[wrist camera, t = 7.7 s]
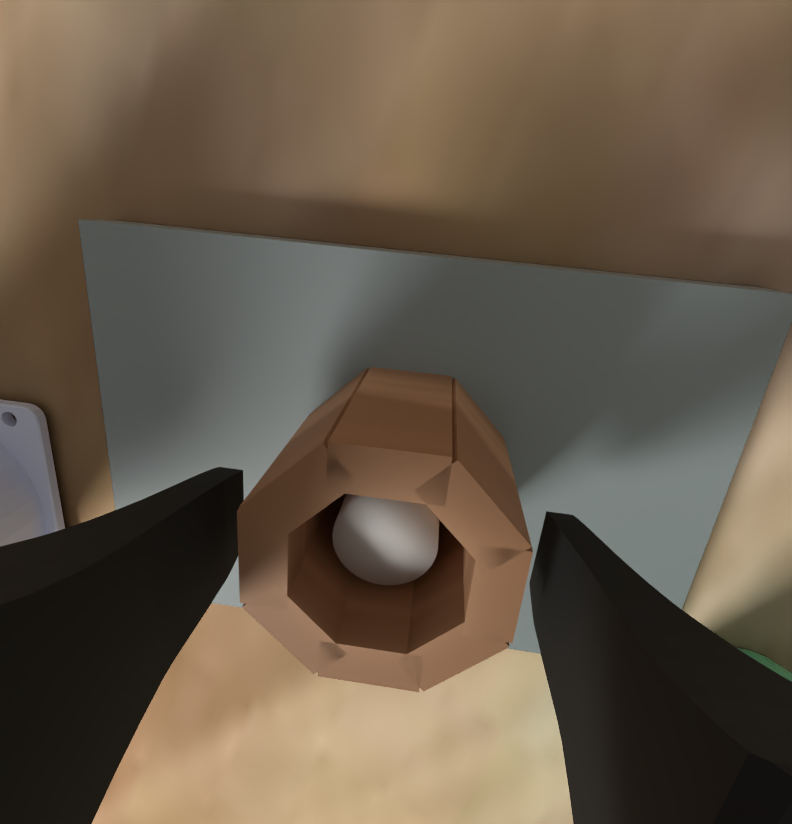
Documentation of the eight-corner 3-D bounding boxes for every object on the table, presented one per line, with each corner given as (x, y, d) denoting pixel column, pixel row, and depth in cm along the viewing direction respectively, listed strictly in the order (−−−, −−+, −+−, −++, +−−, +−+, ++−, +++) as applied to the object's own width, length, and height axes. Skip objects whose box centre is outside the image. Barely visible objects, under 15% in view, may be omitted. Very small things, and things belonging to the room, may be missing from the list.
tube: (305, 532, 15) (241, 663, 11) (309, 359, 13) (233, 430, 9) (483, 557, 15) (498, 704, 10) (515, 383, 13) (551, 469, 8)
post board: (150, 562, 18) (49, 675, 14) (114, 220, 14) (-50, 216, 9) (641, 635, 17) (711, 786, 13) (764, 288, 13) (939, 321, 8)
